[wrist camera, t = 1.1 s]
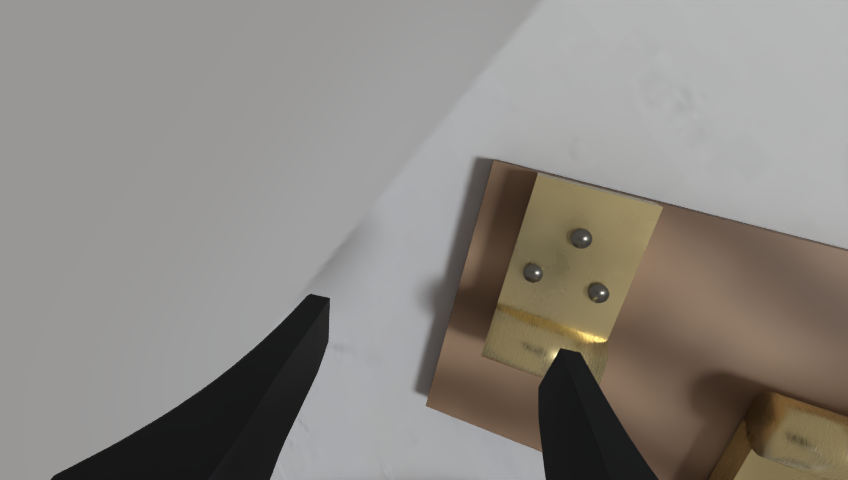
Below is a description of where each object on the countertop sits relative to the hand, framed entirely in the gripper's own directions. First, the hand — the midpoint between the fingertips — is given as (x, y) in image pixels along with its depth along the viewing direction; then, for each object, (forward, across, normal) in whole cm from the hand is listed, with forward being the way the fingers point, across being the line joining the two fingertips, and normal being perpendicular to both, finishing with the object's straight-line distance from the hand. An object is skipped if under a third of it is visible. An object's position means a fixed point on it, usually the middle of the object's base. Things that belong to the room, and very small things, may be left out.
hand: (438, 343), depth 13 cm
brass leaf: (+10, -7, +4) cm, 13 cm away
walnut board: (+9, -13, +7) cm, 18 cm away
